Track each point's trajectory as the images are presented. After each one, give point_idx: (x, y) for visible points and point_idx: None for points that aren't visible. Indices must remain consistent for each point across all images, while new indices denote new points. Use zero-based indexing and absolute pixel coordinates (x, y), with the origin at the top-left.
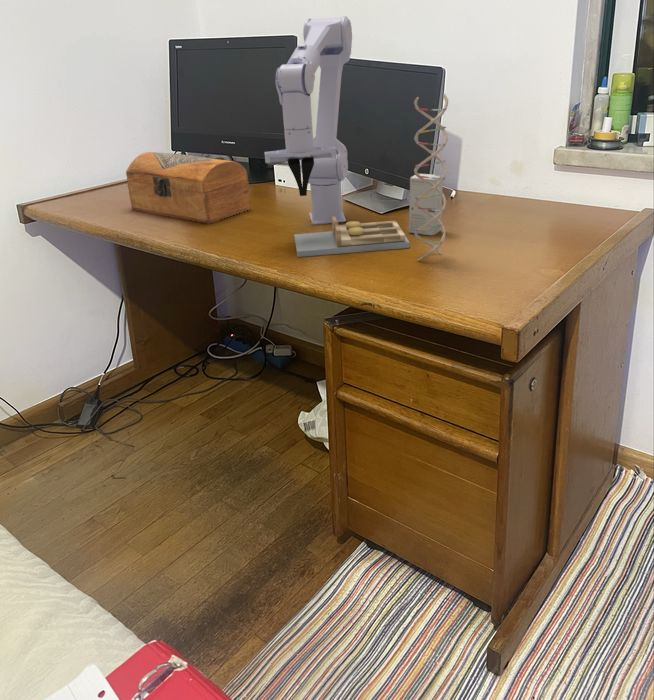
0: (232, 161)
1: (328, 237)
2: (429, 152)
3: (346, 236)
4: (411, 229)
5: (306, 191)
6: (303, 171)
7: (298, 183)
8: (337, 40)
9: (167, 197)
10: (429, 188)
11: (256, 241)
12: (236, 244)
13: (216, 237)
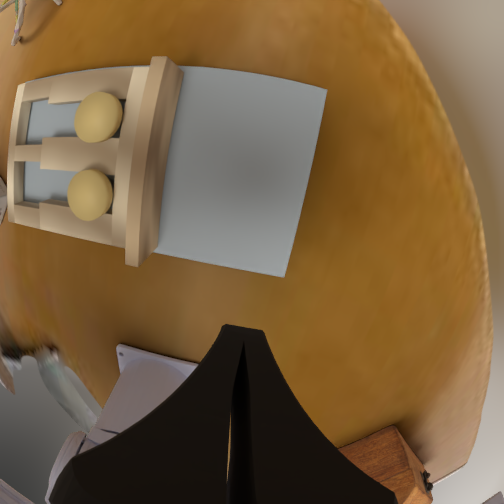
0: None
1: (183, 191)
2: None
3: (135, 104)
4: (2, 190)
5: (219, 336)
6: (219, 457)
7: (277, 383)
8: None
9: (419, 470)
10: None
11: (381, 300)
12: (425, 296)
13: (428, 356)
